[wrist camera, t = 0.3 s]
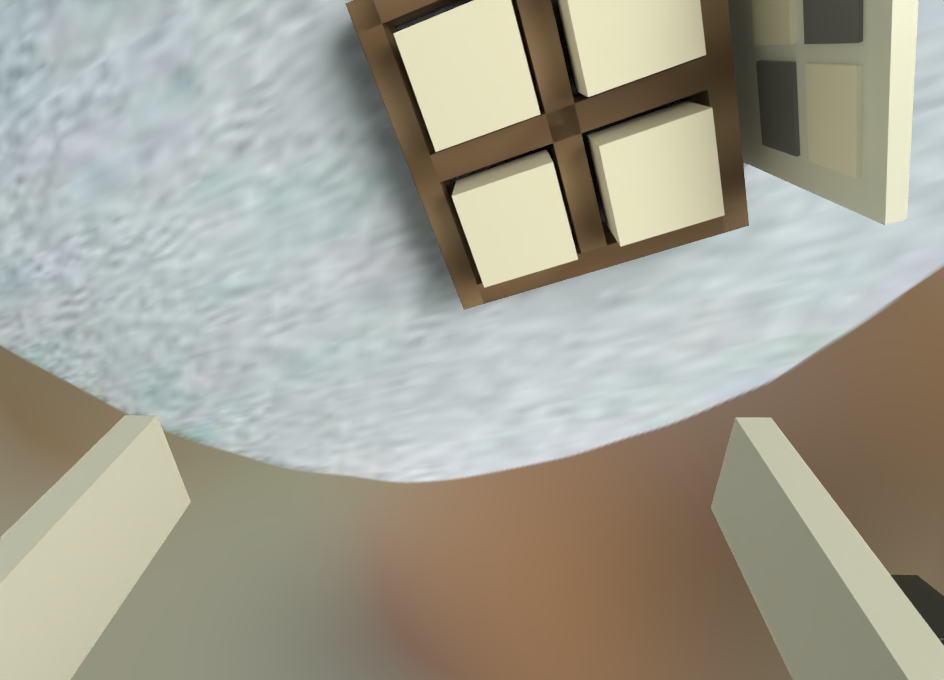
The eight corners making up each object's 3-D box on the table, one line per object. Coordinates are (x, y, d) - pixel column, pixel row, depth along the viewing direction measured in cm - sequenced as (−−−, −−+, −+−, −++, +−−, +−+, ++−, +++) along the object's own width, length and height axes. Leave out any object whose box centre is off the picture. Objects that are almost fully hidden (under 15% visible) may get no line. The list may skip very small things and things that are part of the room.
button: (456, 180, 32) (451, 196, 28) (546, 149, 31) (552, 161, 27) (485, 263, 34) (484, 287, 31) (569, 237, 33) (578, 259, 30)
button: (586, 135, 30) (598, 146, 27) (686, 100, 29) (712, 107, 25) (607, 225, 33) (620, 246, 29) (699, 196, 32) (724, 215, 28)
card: (715, -80, 28) (891, -182, 15) (735, -88, 27) (928, -198, 15) (739, 162, 33) (879, 226, 21) (755, 157, 33) (906, 219, 21)
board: (364, 9, 30) (345, 3, 26) (681, -126, 27) (713, -156, 23) (466, 283, 38) (463, 309, 34) (720, 206, 35) (748, 225, 31)
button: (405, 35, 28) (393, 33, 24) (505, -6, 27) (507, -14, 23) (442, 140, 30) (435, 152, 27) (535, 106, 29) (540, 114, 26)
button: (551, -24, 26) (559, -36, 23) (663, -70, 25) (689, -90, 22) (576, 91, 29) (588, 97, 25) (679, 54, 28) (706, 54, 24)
